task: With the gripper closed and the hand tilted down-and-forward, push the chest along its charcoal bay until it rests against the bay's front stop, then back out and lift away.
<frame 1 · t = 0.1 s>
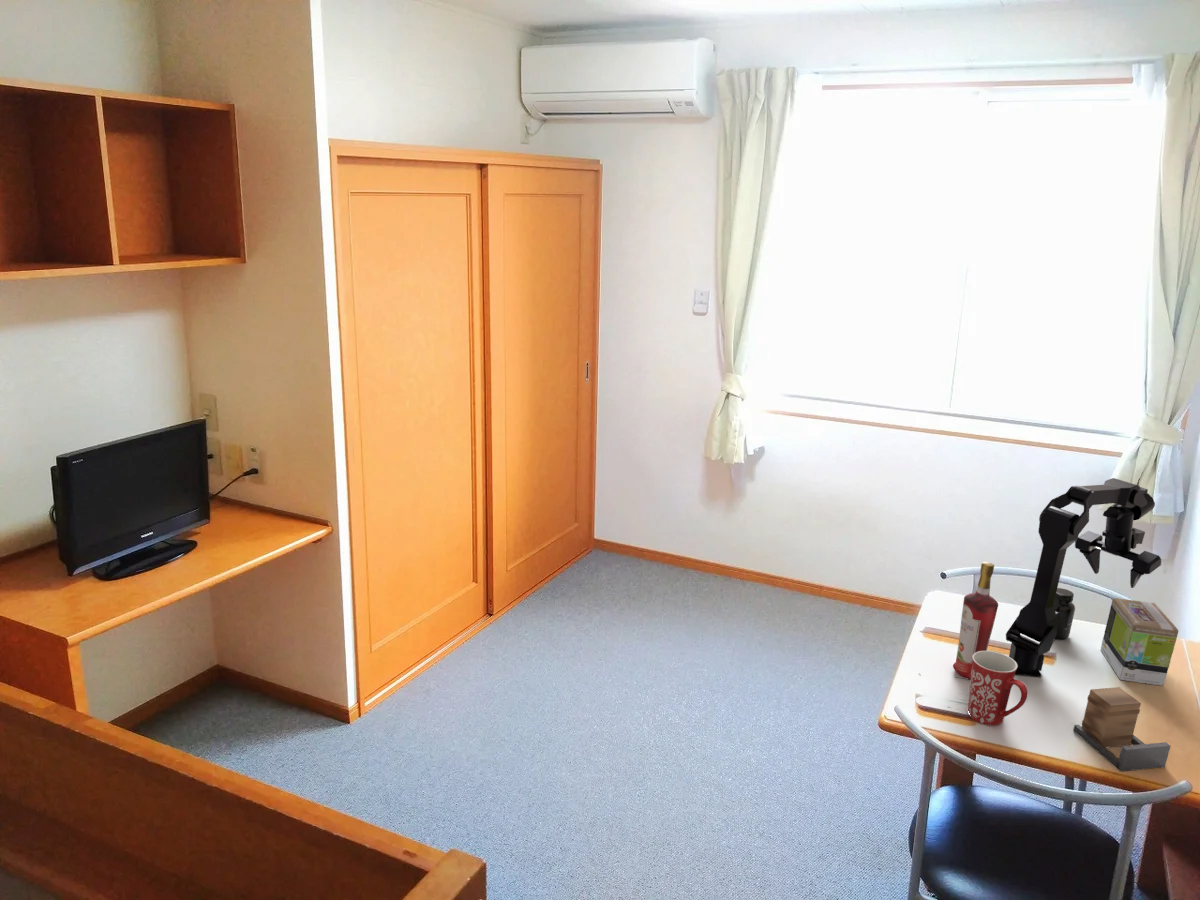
hand: (1114, 580, 230), 15 cm above the table, tool pointing down, fingers open, 9 cm apart
mug: (990, 721, 195), on the table
bay: (1117, 747, 188), on the table
supplement bottle: (1054, 635, 234), on the table
tea box: (1130, 668, 220), on the table
liquor: (967, 674, 213), on the table
chest: (1110, 717, 189), point 5 cm above the table, slide at 0.0 cm
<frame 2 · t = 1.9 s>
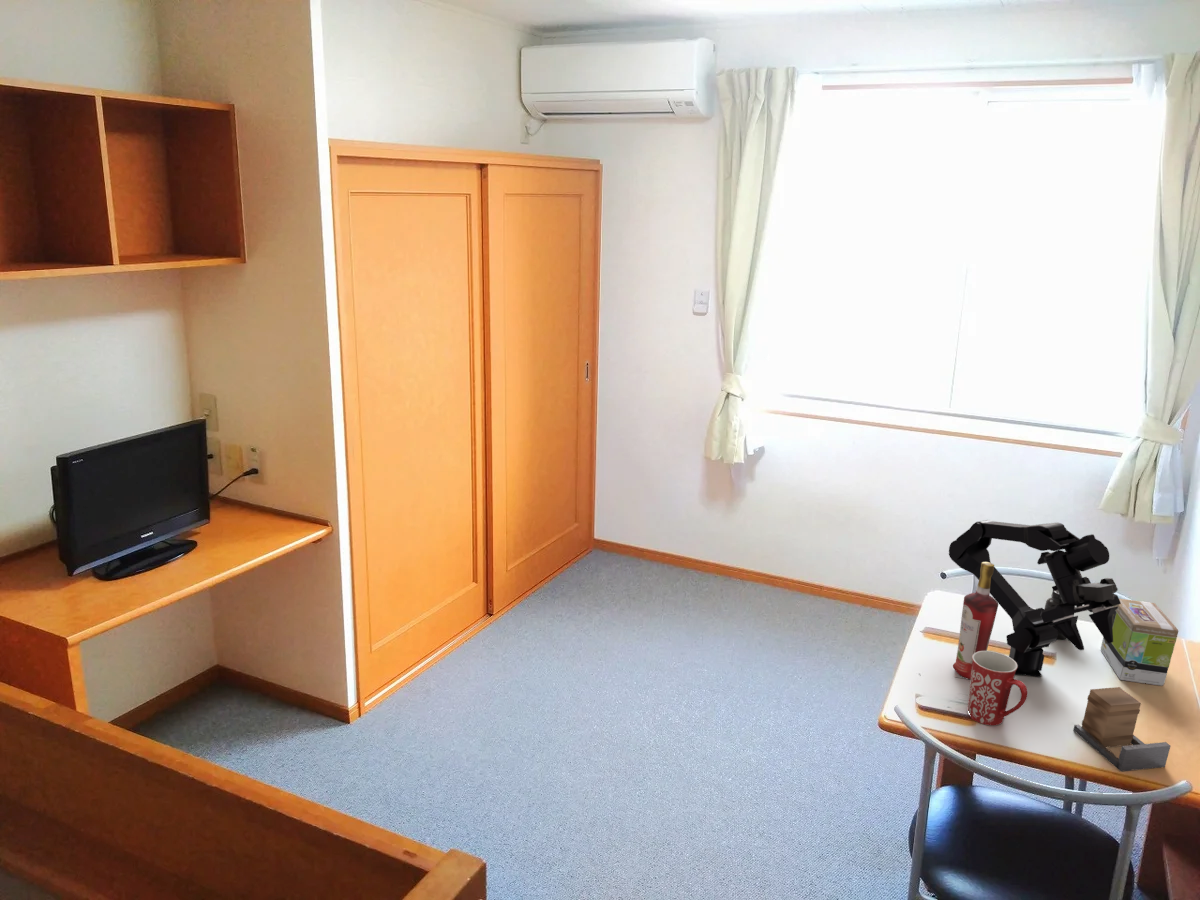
hand: (1096, 646, 198), 15 cm above the table, tool tilted 40°, fingers open, 9 cm apart
nothing on the table moved.
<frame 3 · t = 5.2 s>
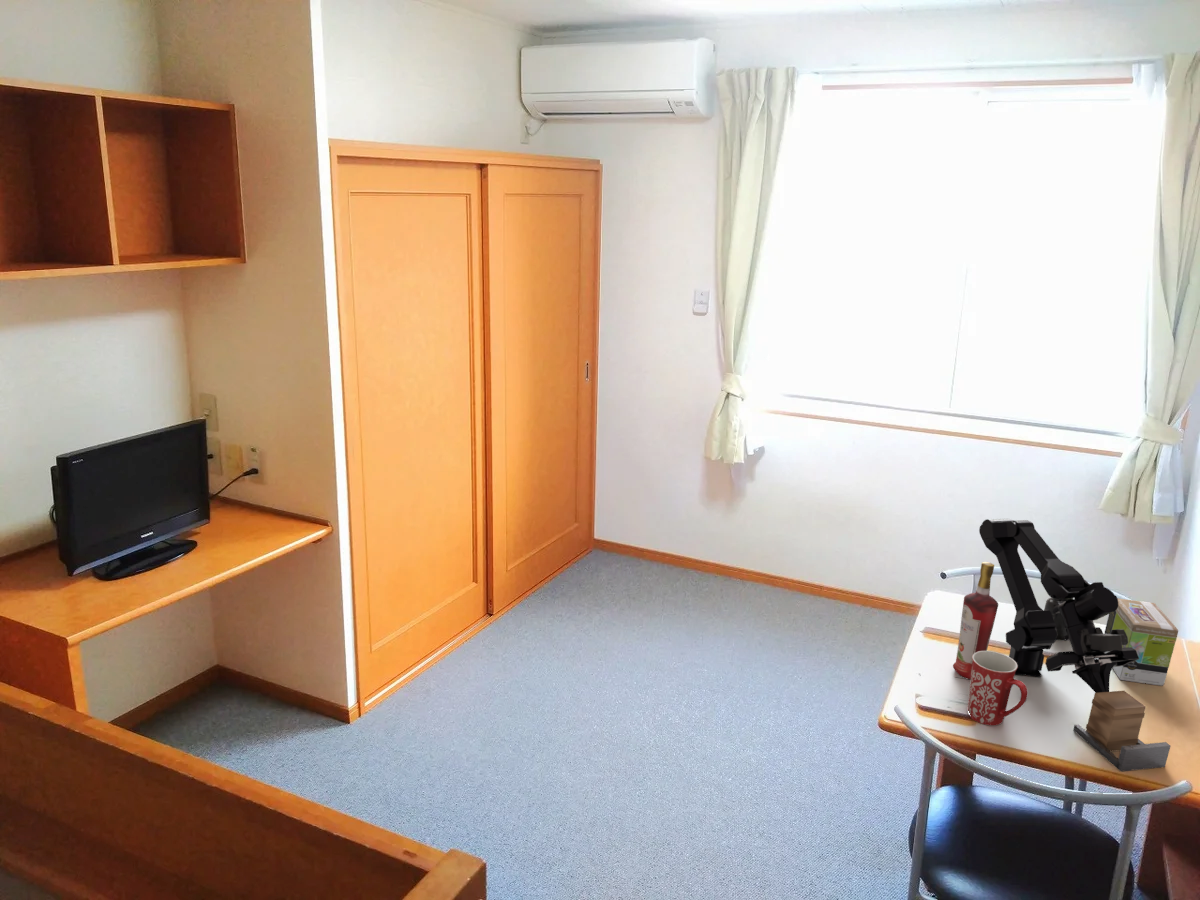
hand: (1106, 699, 190), 8 cm above the table, tool tilted 45°, fingers closed, pressing on chest
chest: (1114, 720, 188), point 5 cm above the table, slide at 1.3 cm, touching gripper
everything else where it was.
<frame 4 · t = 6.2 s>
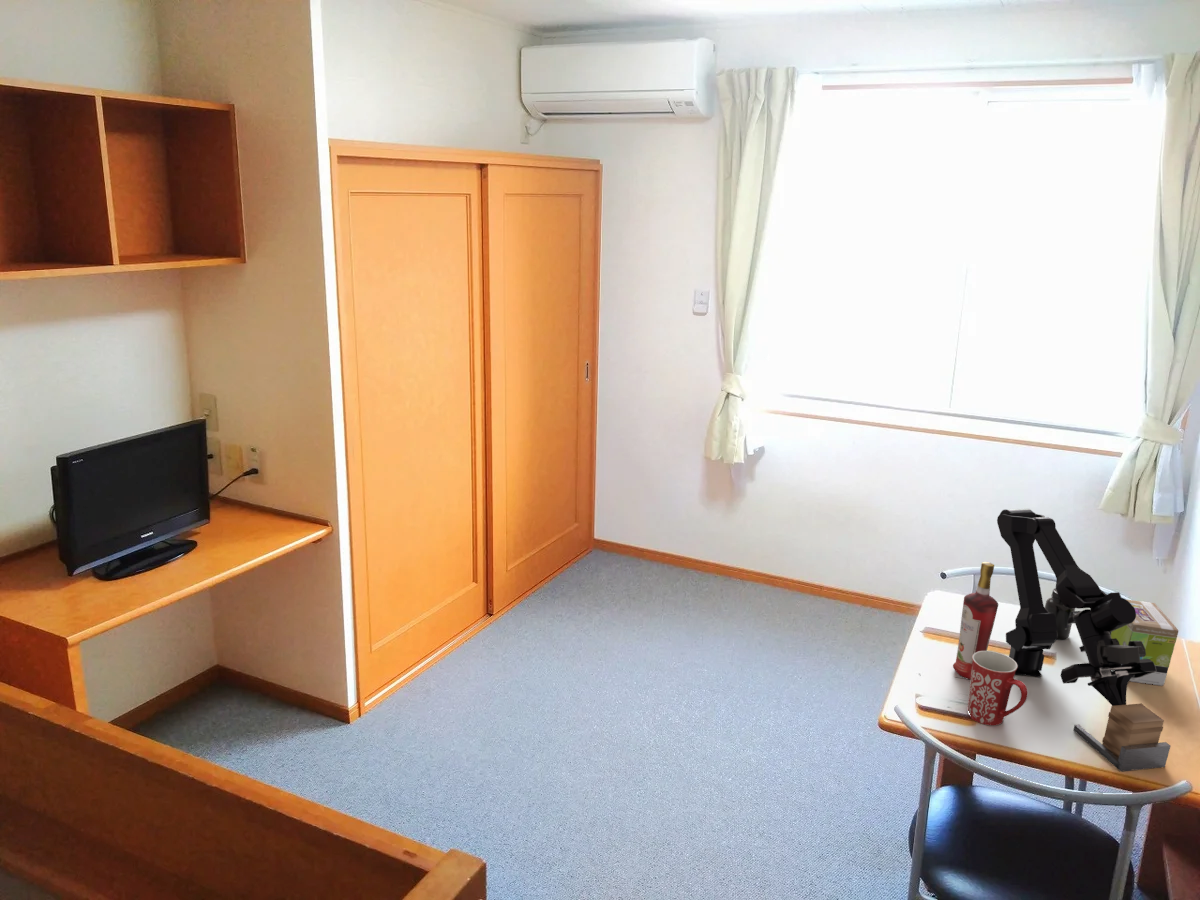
hand: (1122, 713, 186), 8 cm above the table, tool tilted 45°, fingers closed, pressing on chest
chest: (1132, 734, 184), point 5 cm above the table, slide at 6.1 cm, touching gripper
everything else where it was.
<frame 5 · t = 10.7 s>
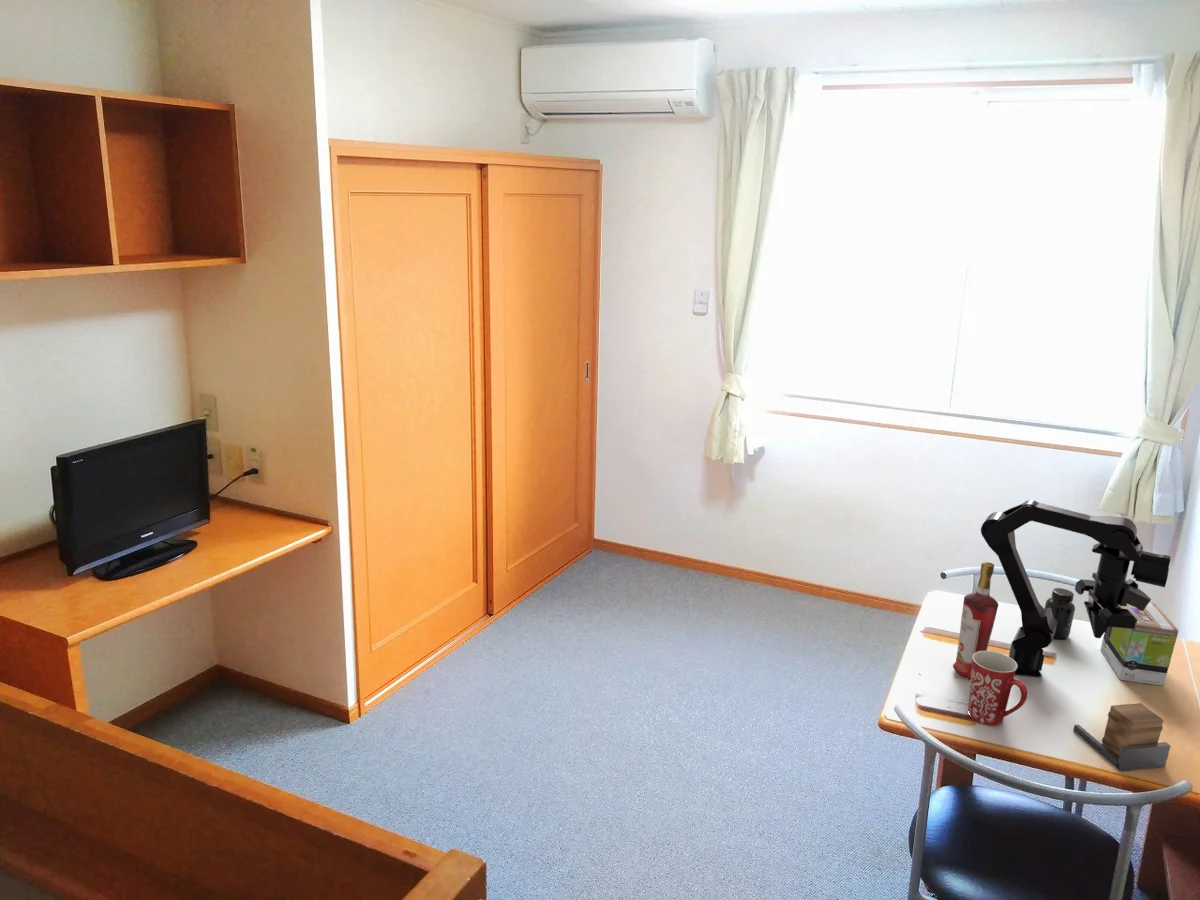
hand: (1097, 637, 206), 13 cm above the table, tool pointing down, fingers closed
chest: (1131, 734, 184), point 5 cm above the table, slide at 6.0 cm
everything else where it was.
at the end: chest slide at 6.0 cm; the gripper is holding nothing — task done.
